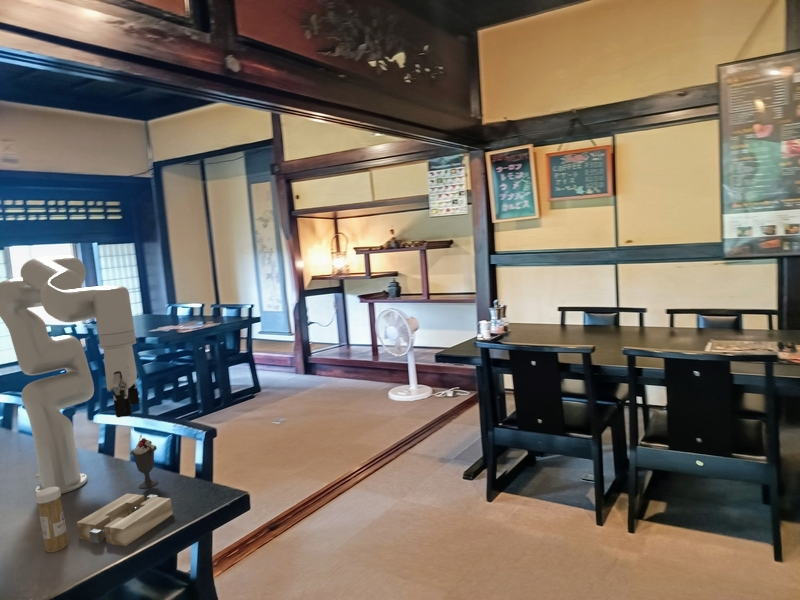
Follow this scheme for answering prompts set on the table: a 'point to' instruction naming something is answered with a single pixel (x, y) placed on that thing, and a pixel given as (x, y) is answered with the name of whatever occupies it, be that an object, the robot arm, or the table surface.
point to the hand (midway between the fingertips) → (128, 410)
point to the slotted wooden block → (126, 518)
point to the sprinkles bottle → (52, 519)
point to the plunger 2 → (140, 506)
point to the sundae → (145, 461)
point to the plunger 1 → (97, 535)
